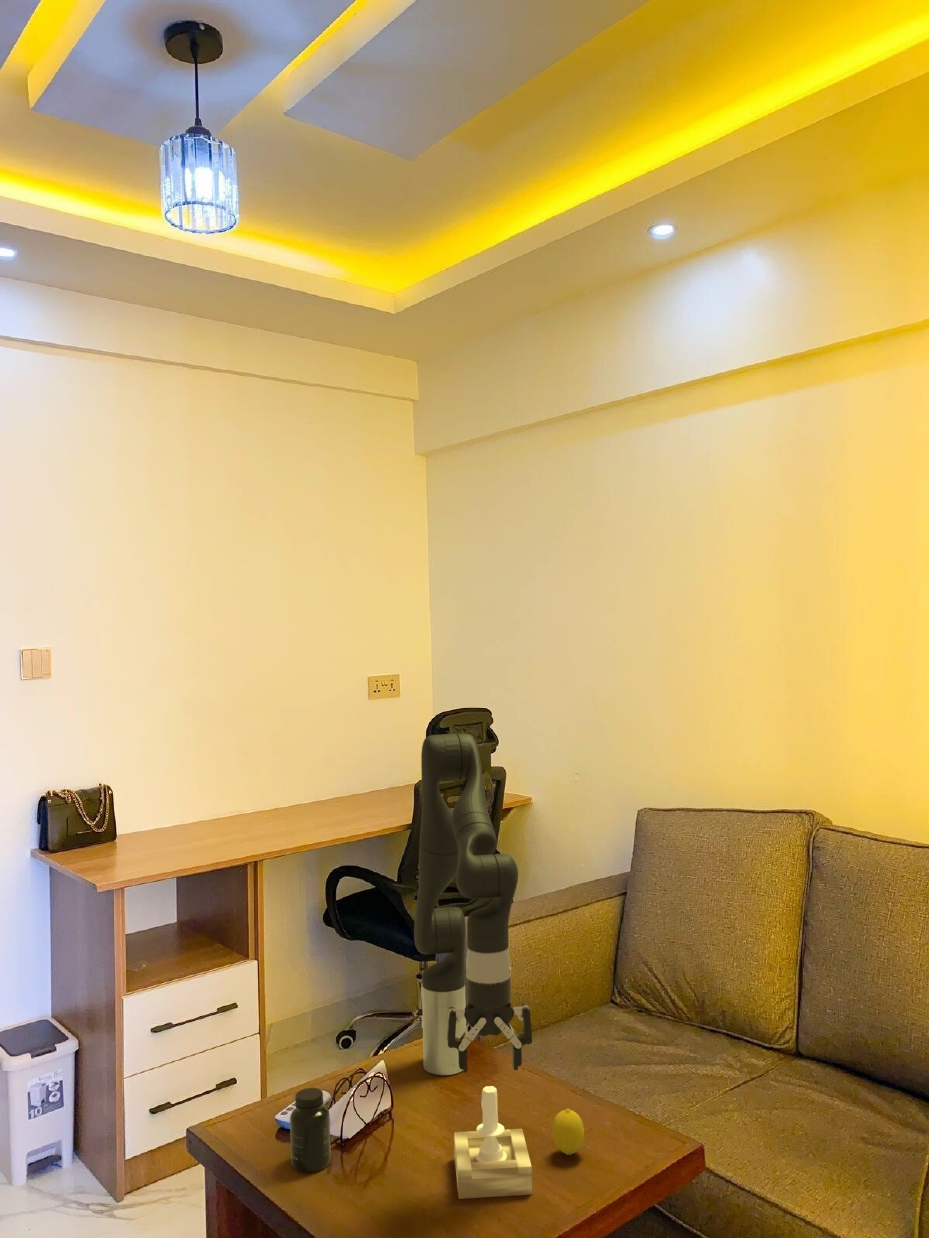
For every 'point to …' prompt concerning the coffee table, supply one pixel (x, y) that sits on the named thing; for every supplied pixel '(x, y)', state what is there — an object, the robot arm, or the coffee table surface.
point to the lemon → (568, 1131)
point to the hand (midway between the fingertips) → (490, 1069)
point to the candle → (490, 1128)
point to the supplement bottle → (310, 1132)
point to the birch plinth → (492, 1166)
